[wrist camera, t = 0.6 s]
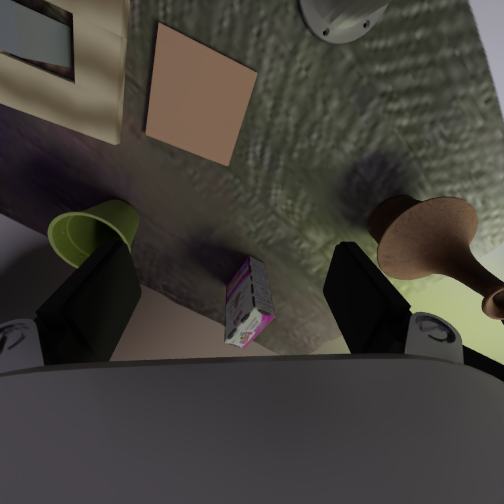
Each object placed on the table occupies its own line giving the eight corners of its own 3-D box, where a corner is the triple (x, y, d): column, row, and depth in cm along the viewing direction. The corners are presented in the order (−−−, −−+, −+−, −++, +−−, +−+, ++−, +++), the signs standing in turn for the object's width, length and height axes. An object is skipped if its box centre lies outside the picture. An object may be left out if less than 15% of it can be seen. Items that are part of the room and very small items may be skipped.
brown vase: (452, 202, 47) (661, 298, 24) (392, 261, 55) (504, 376, 32) (393, 163, 42) (588, 239, 19) (336, 235, 50) (423, 349, 27)
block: (16, 2, 28) (-64, -34, 21) (70, 27, 30) (13, 2, 22) (21, 46, 30) (-49, 28, 23) (71, 67, 32) (21, 57, 24)
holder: (-80, -140, 22) (-106, -160, 21) (131, -25, 27) (124, -33, 26) (-28, 88, 32) (-42, 88, 31) (120, 143, 37) (114, 145, 36)
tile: (160, 24, 30) (158, 22, 29) (257, 73, 33) (257, 73, 32) (147, 134, 37) (145, 134, 36) (228, 165, 40) (227, 166, 40)
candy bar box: (242, 292, 58) (244, 350, 45) (225, 285, 57) (222, 343, 43) (266, 262, 53) (276, 317, 40) (248, 254, 52) (252, 308, 38)
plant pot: (74, 208, 43) (30, 237, 34) (117, 175, 40) (81, 197, 31) (123, 250, 49) (97, 285, 40) (164, 224, 46) (146, 255, 37)
